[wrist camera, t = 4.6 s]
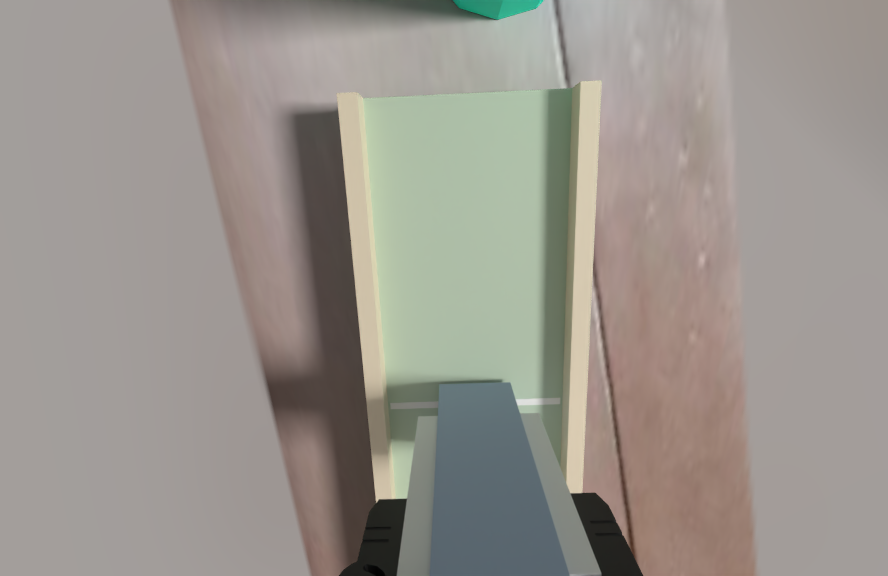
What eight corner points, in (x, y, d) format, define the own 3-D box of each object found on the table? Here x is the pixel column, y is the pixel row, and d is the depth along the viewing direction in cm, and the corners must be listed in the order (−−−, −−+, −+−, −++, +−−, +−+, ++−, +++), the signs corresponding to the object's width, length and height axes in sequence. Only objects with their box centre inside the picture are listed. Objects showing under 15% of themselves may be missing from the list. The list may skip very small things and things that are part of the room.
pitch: (356, 108, 17) (336, 93, 14) (575, 98, 17) (601, 80, 14) (397, 588, 23) (390, 646, 20) (559, 585, 23) (575, 643, 20)
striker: (439, 384, 17) (392, 1306, 3) (510, 382, 17) (796, 1313, 3) (442, 446, 18) (415, 1423, 4) (510, 444, 18) (742, 1432, 4)
